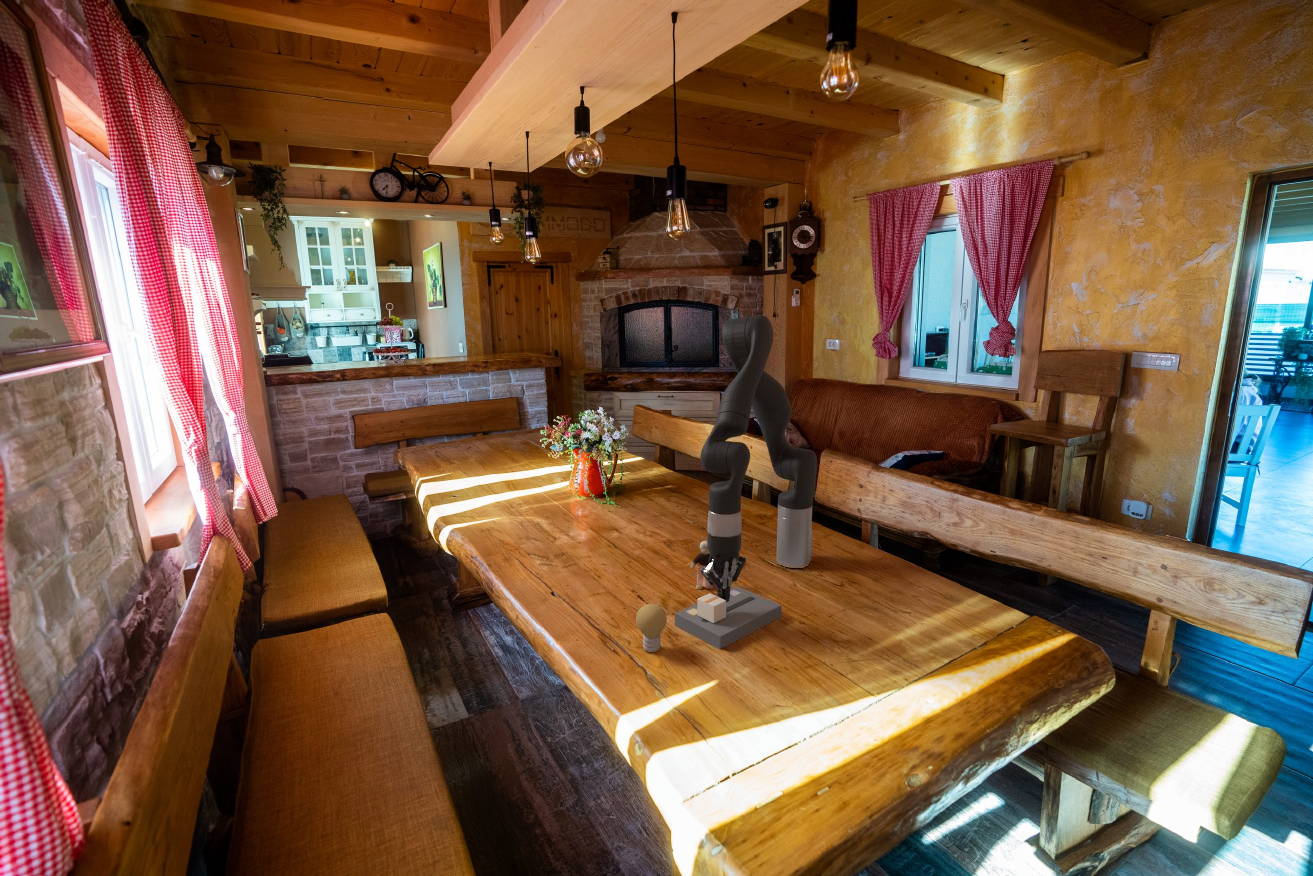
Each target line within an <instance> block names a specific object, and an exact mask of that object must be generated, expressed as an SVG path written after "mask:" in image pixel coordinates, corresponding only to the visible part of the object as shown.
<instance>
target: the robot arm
mask: <svg viewBox="0 0 1313 876" xmlns="http://www.w3.org/2000/svg"><path fill="white" fill-rule="evenodd" d="M721 338H722V342H723V346H724V350H725V351H726V353H727V356H728V357H729V360H730V361H731V363H732V365H733V367H734V369H735V372H736V373H737V374H736V376H735V377H734V378H733V379H732V380H731V382H730V383H729V384H728V386H727V387H726V389H725V390H724V391H723V394H722V396H721V399H720V402H719V403H720V404H719V406H718V411H717V412H718V413H717V417H716V421H715V423H714V426H713V428H712V429H711V431H710V433H709V435H708V437H707V438H706V440H705V441H704V444H703V446H702V449H701V452H700V464H701V467H702V468H703V469H704V470H705V471H706V472H709V473H716V474H717V473H718V474H727V475H729V474H730V475H731V476H730V479H729V480H724V481H723V480H722V481H717V482H714V483H712V484H711V485H710V486H709V489H708V515H707V531H706V533H707V535H706V536H707V537H706V539H707V540H706V541H707V548H708V550H709V552H710V557H709V565H708V566H707V568H706V569H704V568H702V570H701V573H702V575H703V576H704V577H705V578H706V580H707V581H708V582H709V584H710V585H711V586H712V587H715V588H716V595H717V596H718V597H719V598H721V599H724V600H726V603H727V602H729V599H730V588H731V587H732V585H733V583H734V582H735V583H736V582H737V581H738V579H739V577H740V574H741V572H742V569H743V568H744V566H745V564H746V561H747V558H746V557H744V556H742V555H740V551H741V550H742V529H743V528H742V526H743V525H742V523H743V522H742V521H743V519H742V490H743V486H744V485H743V484H744V481H745V478H746V474H747V471H748V467H749V465H750V461H751V451H750V448H749V446H748V445H747V444H746V443H744V442H741V441H731V440H729V439H732V438H737V437H741V436H743V435H745V434H746V433H747V431H748V428H749V422H750V416H751V411H753V413H754V415H755V418H756V420H757V422H758V425H759V427H760V429H761V432H762V436H763V438H764V439H763V440H764V441H765V444H766V445H765V446H766V447H767V451H768V455H769V460H770V463H771V466H772V469H773V471H774V473H775V475H776V476H777V477H778V478H781V479H783V480H786V481H787V480H788V481H792V482H794V483H795V484H794V489H789V490H784V491H782V492H780V493H779V495H778V498H777V500H778V501H777V528H776V530H777V532H776V534H777V535H776V560H775V562H776V561H777V562H776V564H777V563H778V564H780V565H783V566H786V567H794V568H795V567H796V568H797V567H803V566H806V565H808V564H809V563H811V562H810V560H811V561H812V558H813V557H812V555H813V554H812V553H813V529H812V519H813V518H812V517H813V500H814V496H815V492H816V479H817V471H818V459H817V458H818V457H817V455H816V453H815V451H814V450H811V449H808V448H803V447H802V448H801V447H796V446H792V445H790V444H789V442H788V440H787V436H786V431H787V428H788V426H789V423H790V421H791V418H792V407H791V403H790V401H789V398H788V395H787V392H786V390H785V388H784V386H783V385H782V384H781V383H780V382H779V381H778V380H777V379H776V378H774V377H773V376H772V375H771V374H769V373H768V372H766V371H765V368H766V364H767V361H768V359H769V356H770V355H771V351H772V347H773V343H774V328H773V325H772V322H771V320H770V319H769V318H768V317H767V316H765V315H759V314H758V315H753V316H745V317H737V318H732V319H729V320H726V321H725V322H724V324H723V326H722V329H721ZM780 565H779V566H780Z"/></svg>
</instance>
